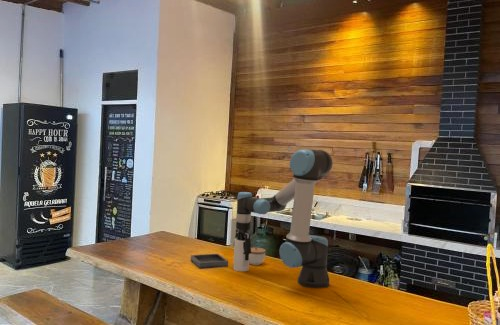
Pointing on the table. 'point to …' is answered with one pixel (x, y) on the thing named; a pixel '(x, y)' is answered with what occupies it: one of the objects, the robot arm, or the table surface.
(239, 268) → the cup
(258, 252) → the lidded jar
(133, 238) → the table surface
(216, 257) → the square metal tray
